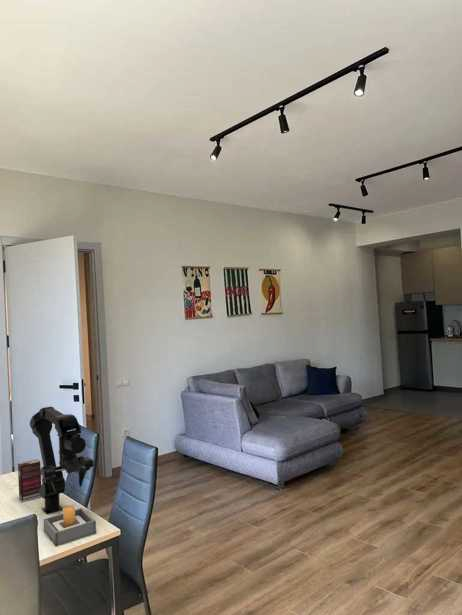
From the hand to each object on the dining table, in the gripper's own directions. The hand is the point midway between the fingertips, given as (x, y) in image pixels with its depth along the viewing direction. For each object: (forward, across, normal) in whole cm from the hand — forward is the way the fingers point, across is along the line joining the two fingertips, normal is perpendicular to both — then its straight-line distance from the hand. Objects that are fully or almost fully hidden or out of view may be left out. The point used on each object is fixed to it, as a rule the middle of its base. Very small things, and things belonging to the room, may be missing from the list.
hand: (68, 489), depth 173 cm
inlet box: (+12, -3, -10) cm, 16 cm away
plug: (+11, -3, -10) cm, 15 cm away
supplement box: (+12, -6, +36) cm, 38 cm away
